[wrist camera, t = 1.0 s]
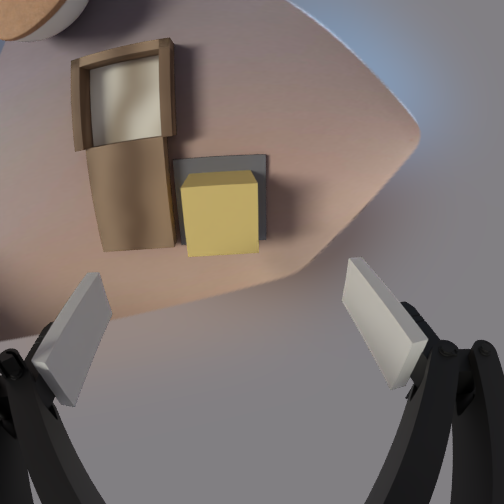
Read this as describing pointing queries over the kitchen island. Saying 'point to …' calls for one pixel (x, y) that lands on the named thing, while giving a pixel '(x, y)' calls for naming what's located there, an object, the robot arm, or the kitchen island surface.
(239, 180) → the block
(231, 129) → the kitchen island surface
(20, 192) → the kitchen island surface
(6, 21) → the lidded jar
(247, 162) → the mat
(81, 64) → the brown tray
